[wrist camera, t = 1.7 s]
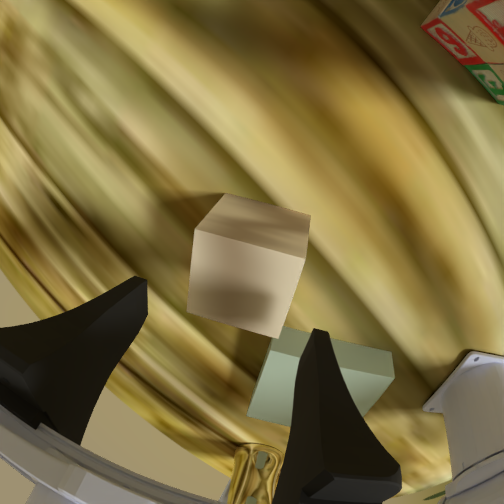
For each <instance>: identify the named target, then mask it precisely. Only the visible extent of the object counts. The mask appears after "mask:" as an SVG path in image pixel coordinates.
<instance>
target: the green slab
mask: <svg viewBox="0 0 504 504" xmlns="http://www.w3.org/2000/svg"><path fill="white" fill-rule="evenodd" d="M310 335H311V333H308V332H304V331H300V330H296V329H292V328H289V327H285V326H283V327H282V330H281V333H280V335H279V338H278V339H277V338H273V337H272V339H271V342H270V344H269V347H268V350H267V353H266V356H265V359H264V362H263V365H262V368H261V371H260V373H259V376H258V379H257V382H256V385H255V387H254V390H253V393H252V397H251V400H250V404H249V408H248V411H247V415H246V416H248V417H252V418H256V419H260V420H264V421H268V422H272V423H276V424H281V425H285V426H289V427H291V420H292V409H293V398H294V387H295V379H296V374H297V369H298V364H299V360H300V357H301V355H302V353H303V351H304V349H305V346H306V344H307V342H308V340H309V338H310ZM330 339H331V343H332V346H333V349H334V353H335V356H336V359H337V362H338V365H339V367H340V370H341V373H342V376H343V378H344V381H345V383H346V385H347V388H348V390H349V392H350V394H351V397H352V399H353V401H354V403H355V405H356V406H357V408H358V410H359V412H360V414H361V415H362V417H363V416H364V415H365V414H366V413H367V412H368V411H369V409H370V408H371V407H372V406H373V405H374V404H375V402H376V401H377V400H378V399H379V398H380V396H381V395H382V394H383V393H384V391H385V390H386V389H387V388H388V386H389V385H390V384H391V383H392V381H393V380H394V379H395V375H394V367H393V360H392V353H391V352H389V351H385V350H380V349H375V348H371V347H366V346H362V345H358V344H353V343H349V342H345V341H340V340H336V339H332V338H330Z"/></svg>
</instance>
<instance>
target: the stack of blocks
mask: <svg viewBox="0 0 504 504" xmlns="http://www.w3.org/2000/svg"><path fill="white" fill-rule="evenodd" d="M421 28H422V29H423V30H424V31H425V32H427V33H428V34H429V35H430V36H431V37H433V38H434V39H435V40H436V41H437V42H438V43H439V44H440V45H442V46H443V47H444V48H445V49H446V50H447V51H448V52H449V53H450V54H451V55H452V56H454V57H455V58H456V59H457V60H458V61H459V62H460V63H461V64H462V65H464V66H465V67H466V68H467V69H468V70H469V71H470V72H471V73H472V74H473V76H474V77H475V78H476V79H477V80H478V81H479V82H480V83H481V84H482V85H483V86H484V88H485V89H486V90H487V91H488V92H489V93H490V94H491V96H492V97H493V98H494V99H495V100H496V102H497V103H498V104H501V105H504V0H440V1H439V2H438V4H437V5H436V6H435V8H434V9H433V10H432V11H431V13H430V14H429V15H428V16H427V18H426V19H425V20H424V22H423V23H422V24H421Z"/></svg>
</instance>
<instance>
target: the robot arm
mask: <svg viewBox="0 0 504 504" xmlns="http://www.w3.org/2000/svg"><path fill="white" fill-rule="evenodd" d="M147 315H148V301H147V280H146V279H143V278H140V277H137V276H133V277H132V278H130V279H128V280H126V281H124V282H123V283H121V284H119V285H118V286H116V287H114V288H112V289H111V290H109V291H107V292H105V293H103V294H102V295H100V296H98V297H96V298H94V299H92V300H90V301H88V302H86V303H84V304H82V305H80V306H78V307H76V308H74V309H72V310H69V311H67V312H64V313H62V314H59V315H56V316H53V317H50V318H47V319H44V320H40V321H37V322H33V323H29V324H24V325H19V326H12V327H4V328H0V458H1V459H3V460H4V461H5V462H6V463H8V464H9V465H10V466H11V467H13V468H14V469H15V470H17V471H18V472H19V473H21V474H22V475H23V476H25V477H26V478H27V479H29V480H30V481H32V482H33V483H34V484H36V485H35V487H34V489H33V491H32V493H31V494H30V496H29V498H28V500H27V502H26V504H227V503H223V502H219V501H216V500H212V499H208V498H205V497H202V496H198V495H195V494H192V493H188V492H186V491H182V490H180V489H177V488H173V487H171V486H168V485H165V484H163V483H160V482H157V481H155V480H152V479H150V478H147V477H144V476H142V475H140V474H137V473H135V472H133V471H130V470H128V469H126V468H124V467H121V466H119V465H117V464H115V463H113V462H111V461H109V460H106V459H104V458H102V457H100V456H98V455H96V454H94V453H93V452H90V451H89V450H87V449H85V448H83V447H81V446H80V444H81V441H82V438H83V435H84V433H85V430H86V427H87V424H88V422H89V419H90V417H91V414H92V412H93V409H94V407H95V405H96V403H97V400H98V398H99V396H100V394H101V392H102V390H103V388H104V386H105V384H106V382H107V380H108V378H109V376H110V374H111V373H112V371H113V369H114V368H115V366H116V365H117V363H118V362H119V361H120V359H121V358H122V356H123V355H124V353H125V352H126V350H127V349H128V348H129V346H130V345H131V343H132V342H133V340H134V339H135V337H136V336H137V334H138V333H139V331H140V329H141V327H142V325H143V323H144V321H145V319H146V317H147ZM422 408H423V411H426V412H436V413H443V415H444V421H445V426H446V433H447V439H448V446H449V453H450V461H451V470H452V479H453V482H451V483H449V484H447V485H446V486H445V490H446V495H445V496H443V497H442V498H441V499H440V500H439V502H438V504H504V357H502V356H497V355H491V354H486V353H481V352H476V351H472V352H469V353H468V354H467V355H466V357H465V358H464V359H463V360H462V362H461V363H460V364H459V365H458V367H457V368H456V369H455V370H454V371H453V373H452V374H451V375H450V376H449V377H448V379H447V380H446V381H445V382H444V383H443V384H442V385H441V387H440V388H439V389H438V390H437V391H436V392H435V393H434V394H433V395H432V397H431V398H430V399H429V400H428V401H427V402H426V403H425V404H424V405H423V407H422ZM77 464H78V465H77ZM401 489H402V476H401V469H400V465H399V464H398V463H397V461H396V460H395V459H394V458H393V457H392V456H391V455H390V454H389V453H388V452H387V451H386V450H385V448H384V447H383V446H382V445H381V443H380V442H379V441H378V440H377V438H376V437H375V435H374V434H373V432H372V431H371V430H370V428H369V427H368V425H367V424H366V422H365V421H364V419H363V417H362V415H361V414H360V412H359V410H358V408H357V406H356V405H355V403H354V401H353V399H352V397H351V394H350V392H349V390H348V388H347V385H346V383H345V381H344V378H343V376H342V373H341V370H340V367H339V365H338V362H337V359H336V356H335V353H334V349H333V346H332V343H331V339H330V335H329V333H328V332H327V331H323V330H319V329H315V328H314V329H313V331H312V333H311V335H310V338H309V340H308V342H307V344H306V346H305V349H304V351H303V353H302V355H301V357H300V360H299V364H298V369H297V374H296V379H295V387H294V398H293V409H292V420H291V429H290V435H289V440H288V444H287V449H286V453H285V457H284V461H283V465H282V469H281V473H280V476H279V480H278V484H277V487H276V490H275V494H274V497H273V500H272V503H271V504H382V502H383V501H385V500H387V499H389V498H391V497H393V496H394V495H396V494H397V493H398V492H400V490H401Z"/></svg>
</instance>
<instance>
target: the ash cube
mask: <svg viewBox="0 0 504 504" xmlns="http://www.w3.org/2000/svg"><path fill="white" fill-rule="evenodd" d="M310 218H311V215H308V214H304V213H301V212H297V211H293V210H290V209H286V208H282V207H278V206H275V205H271V204H267V203H263V202H259V201H256V200H252V199H248V198H244V197H240V196H236V195H232V194H228V193H225V194H224V195H223V197H222V198H221V199H220V200H219V201H218V202H217V204H216V205H215V206H214V207H213V208H212V209H211V210H210V212H209V213H208V214H207V215H206V216H205V217H204V219H203V220H202V221H201V222H200V223H199V225H198V226H197V227H196V228H195V232H194V240H193V250H192V259H191V270H190V280H189V291H188V303H187V312H189V313H192V314H195V315H198V316H201V317H204V318H208V319H211V320H214V321H217V322H221V323H224V324H227V325H231V326H234V327H237V328H241V329H244V330H248V331H251V332H255V333H258V334H262V335H266V336H269V337H273V338H277V339H278V338H279V335H280V333H281V330H282V327H283V324H284V321H285V319H286V316H287V313H288V310H289V307H290V304H291V301H292V298H293V295H294V293H295V290H296V287H297V284H298V281H299V278H300V275H301V272H302V269H303V266H304V263H305V259H306V252H307V244H308V235H309V227H310Z"/></svg>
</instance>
